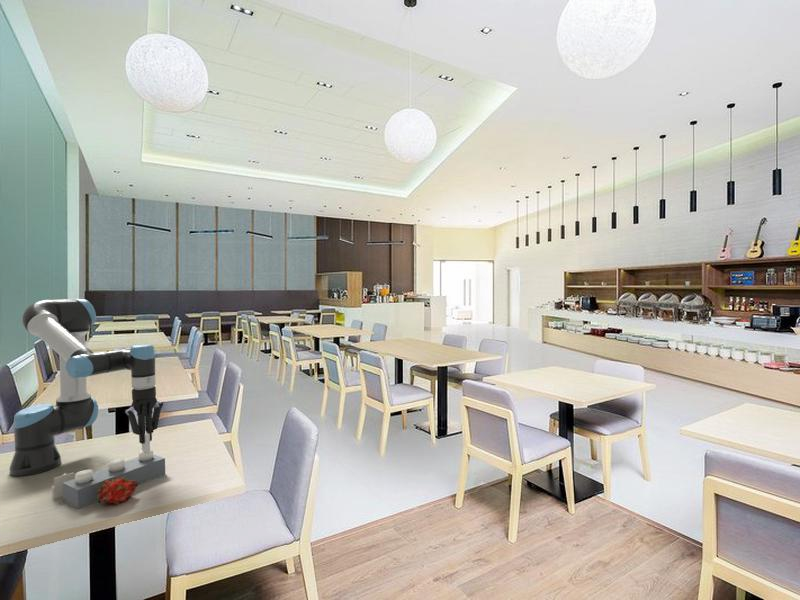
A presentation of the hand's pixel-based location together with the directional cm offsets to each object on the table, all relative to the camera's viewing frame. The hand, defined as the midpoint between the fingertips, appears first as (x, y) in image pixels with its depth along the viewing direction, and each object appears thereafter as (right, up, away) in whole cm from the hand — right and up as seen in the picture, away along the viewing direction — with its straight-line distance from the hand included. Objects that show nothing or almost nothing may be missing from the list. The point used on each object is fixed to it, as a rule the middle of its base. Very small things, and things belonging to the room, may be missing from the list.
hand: (146, 450), depth 157 cm
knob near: (-10, -9, -17) cm, 22 cm away
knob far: (0, -8, 0) cm, 8 cm away
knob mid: (-5, -9, -8) cm, 13 cm away
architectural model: (-19, -11, -14) cm, 26 cm away
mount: (-5, -10, -8) cm, 14 cm away
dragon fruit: (+2, -10, -18) cm, 21 cm away
